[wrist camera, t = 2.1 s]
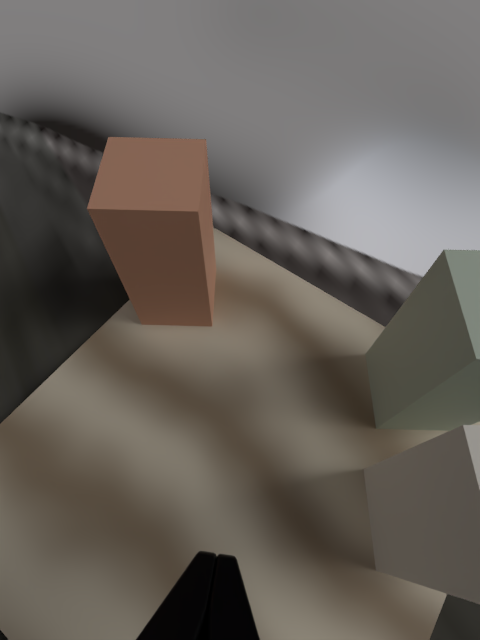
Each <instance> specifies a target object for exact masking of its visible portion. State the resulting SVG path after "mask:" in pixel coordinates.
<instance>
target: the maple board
mask: <svg viewBox="0 0 480 640" xmlns="http://www.w3.org/2000/svg"><path fill="white" fill-rule="evenodd" d="M213 234H214V247H215V259H216V280H215V295H214V309H213V324H212V326H175V325H142V324H141V322H140V320H139V318H138V316H137V313H136V311H135V309H134V307H133V305H132V303H131V301H130V300H129V301H128V302H127V303H125V304H124V305H123V306H122V307H121V308H120V309H119V310H118V311H117V312H116V313H115V314H114V315H113V316H112V317H111V318H110V319H109V320H108V321H107V322H106V323H105V324H104V325H103V326H102V327H101V328H100V329H98V330H97V331H96V332H95V333H94V334H93V335H92V336H91V337H90V338H89V339H88V340H87V341H86V342H85V343H84V344H83V345H82V346H81V347H80V348H79V349H78V350H77V351H76V352H75V353H74V354H73V355H71V356H70V357H69V358H68V359H67V360H66V361H65V362H64V363H63V364H62V365H61V366H60V367H59V368H58V369H57V370H56V371H55V372H54V373H53V374H52V375H51V376H50V377H49V378H48V379H47V380H45V381H44V382H43V383H42V384H41V385H40V386H39V387H38V388H37V389H36V390H35V391H34V392H33V393H32V394H31V395H30V396H29V397H28V398H27V399H26V400H25V401H24V402H23V403H22V404H21V405H20V406H18V407H17V408H16V409H15V410H14V411H13V412H12V413H11V414H10V415H9V416H8V417H7V418H6V419H5V420H4V421H3V422H2V423H1V424H0V630H1V631H2V632H3V634H4V635H5V636H6V637H7V638H8V640H136V639H137V637H138V636H139V634H140V633H141V631H142V630H143V629H144V627H145V626H146V624H147V623H148V622H149V620H150V619H151V617H152V616H153V614H154V613H155V612H156V610H157V609H158V607H159V606H160V605H161V603H162V602H163V600H164V599H165V597H166V596H167V595H168V593H169V592H170V590H171V589H172V588H173V586H174V585H175V583H176V582H177V580H178V579H179V578H180V576H181V575H182V573H183V572H184V571H185V569H186V568H187V566H188V565H189V563H190V562H191V561H192V559H193V558H194V556H195V555H196V554H197V553H198V552H199V551H207V552H213V553H215V554H216V556H218V554H226V555H233V556H235V557H236V559H237V562H238V565H239V569H240V572H241V575H242V579H243V582H244V586H245V589H246V593H247V596H248V600H249V603H250V607H251V610H252V614H253V617H254V621H255V624H256V628H257V631H258V635H259V638H260V640H429V639H430V637H431V634H432V631H433V629H434V626H435V624H436V621H437V618H438V616H439V613H440V611H441V608H442V605H443V603H444V600H445V598H446V595H447V594H446V593H443V592H440V591H437V590H434V589H431V588H428V587H425V586H422V585H419V584H415V583H412V582H409V581H406V580H403V579H400V578H397V577H394V576H391V575H388V574H385V573H382V572H378V571H376V567H375V559H374V551H373V543H372V535H371V527H370V518H369V510H368V502H367V494H366V486H365V478H364V470H363V469H365V468H367V467H369V466H372V465H374V464H376V463H378V462H381V461H383V460H385V459H387V458H390V457H392V456H394V455H396V454H399V453H401V452H403V451H405V450H408V449H410V448H412V447H414V446H417V445H419V444H421V443H423V442H426V441H428V440H430V439H432V438H435V437H437V436H439V435H441V434H444V433H446V432H448V431H440V430H404V429H376V425H375V418H374V411H373V404H372V397H371V390H370V383H369V376H368V370H367V363H366V356H365V354H366V353H367V351H368V350H369V349H370V347H371V346H372V345H373V343H374V342H375V341H376V339H377V338H378V337H379V335H380V334H381V333H382V331H383V330H384V329H385V327H384V326H382V325H380V324H379V323H377V322H375V321H374V320H372V319H370V318H368V317H367V316H365V315H363V314H361V313H360V312H358V311H356V310H355V309H353V308H351V307H349V306H348V305H346V304H344V303H343V302H341V301H339V300H337V299H336V298H334V297H332V296H331V295H329V294H327V293H325V292H324V291H322V290H320V289H318V288H317V287H315V286H313V285H312V284H310V283H308V282H306V281H305V280H303V279H301V278H300V277H298V276H296V275H294V274H293V273H291V272H289V271H288V270H286V269H284V268H282V267H281V266H279V265H277V264H276V263H274V262H272V261H270V260H269V259H267V258H265V257H263V256H262V255H260V254H258V253H257V252H255V251H253V250H251V249H250V248H248V247H246V246H245V245H243V244H241V243H239V242H238V241H236V240H234V239H233V238H231V237H229V236H227V235H226V234H224V233H222V232H220V231H219V230H217V229H215V228H214V227H213ZM472 425H480V421H479V422H477V423H475V424H472Z"/></svg>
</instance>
